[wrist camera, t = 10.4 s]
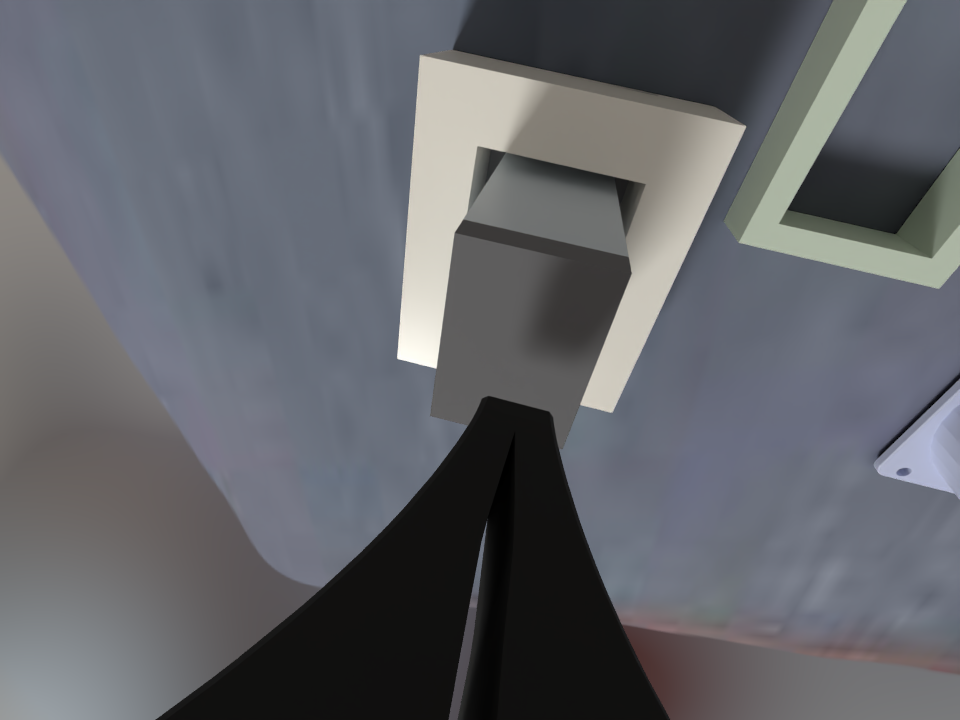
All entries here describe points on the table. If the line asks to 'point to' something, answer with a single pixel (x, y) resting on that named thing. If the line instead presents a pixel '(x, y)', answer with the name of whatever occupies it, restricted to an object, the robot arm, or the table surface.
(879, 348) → the table surface
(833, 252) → the pale green rectangular frame
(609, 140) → the frame
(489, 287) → the plug
